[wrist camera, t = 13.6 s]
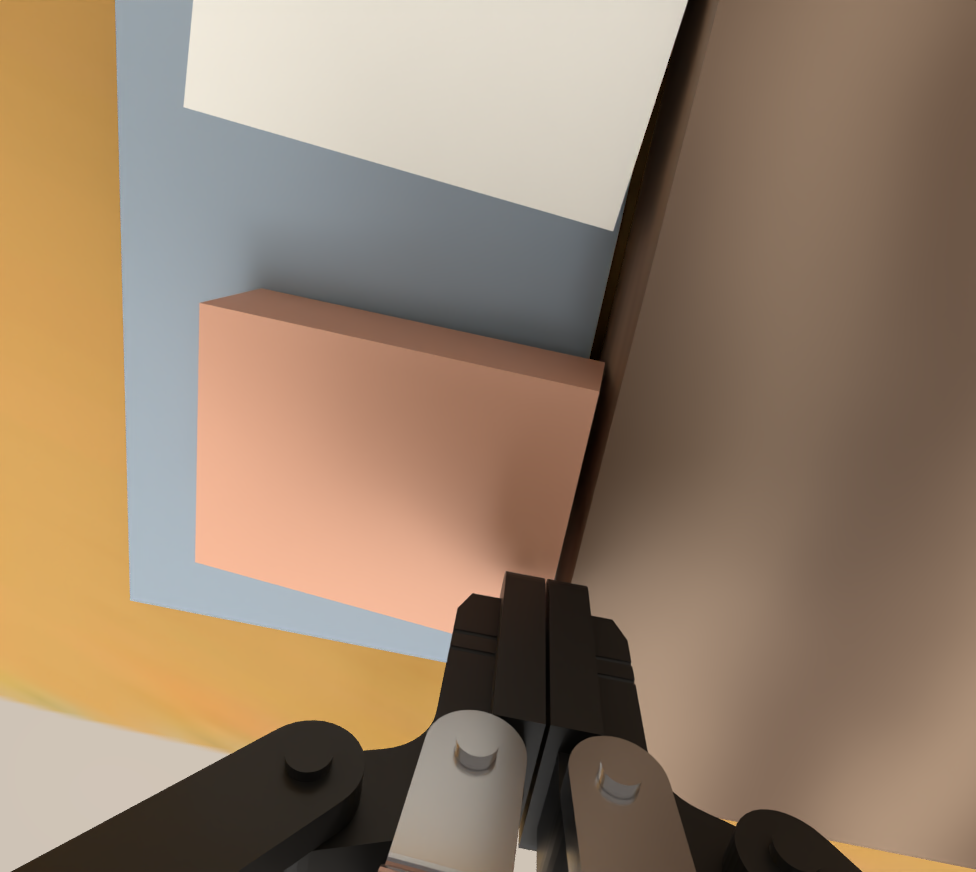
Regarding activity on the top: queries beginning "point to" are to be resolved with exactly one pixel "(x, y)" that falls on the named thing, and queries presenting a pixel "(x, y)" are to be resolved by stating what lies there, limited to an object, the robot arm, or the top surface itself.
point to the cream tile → (448, 87)
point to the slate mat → (301, 272)
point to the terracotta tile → (382, 454)
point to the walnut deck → (800, 422)
